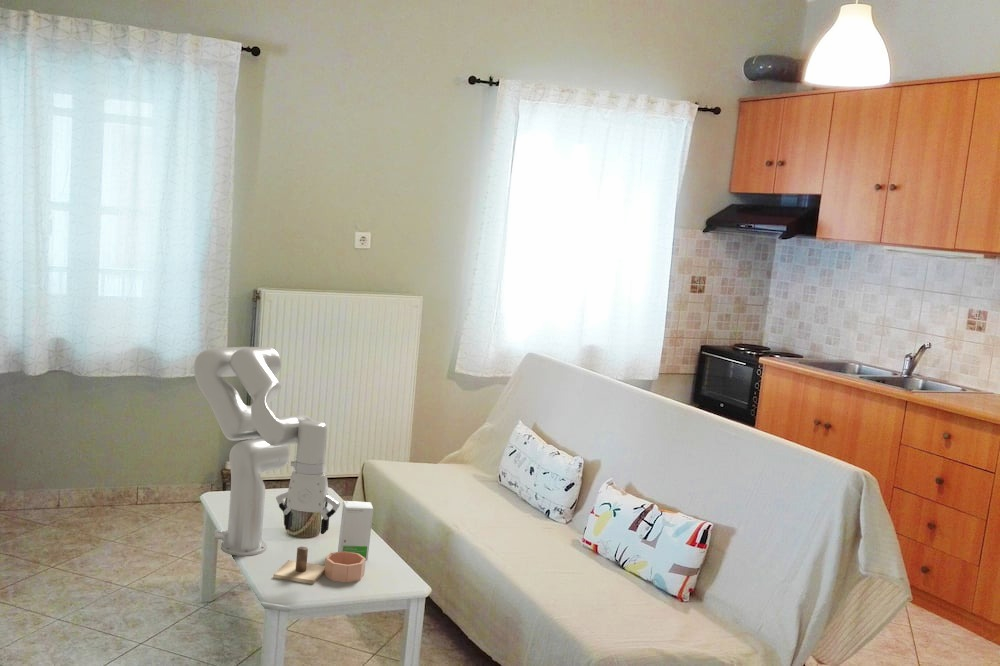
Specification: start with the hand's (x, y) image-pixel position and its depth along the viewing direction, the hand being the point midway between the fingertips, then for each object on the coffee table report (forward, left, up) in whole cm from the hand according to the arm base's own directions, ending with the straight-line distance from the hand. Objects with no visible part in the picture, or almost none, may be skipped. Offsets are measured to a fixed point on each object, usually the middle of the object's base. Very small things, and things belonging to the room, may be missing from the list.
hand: (306, 530), depth 255 cm
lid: (-1, 0, -12) cm, 12 cm away
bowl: (+10, +4, -13) cm, 17 cm away
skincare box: (+8, +19, -13) cm, 25 cm away
